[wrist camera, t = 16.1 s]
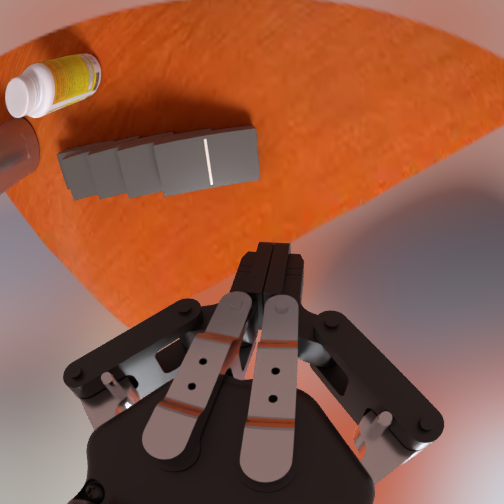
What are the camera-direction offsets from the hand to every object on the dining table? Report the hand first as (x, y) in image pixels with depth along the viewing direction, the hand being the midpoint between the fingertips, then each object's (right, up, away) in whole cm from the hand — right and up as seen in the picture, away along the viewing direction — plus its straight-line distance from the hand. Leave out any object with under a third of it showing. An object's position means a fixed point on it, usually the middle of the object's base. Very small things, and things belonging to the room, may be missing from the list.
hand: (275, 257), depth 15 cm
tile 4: (-13, +10, +15) cm, 22 cm away
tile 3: (-9, +10, +14) cm, 19 cm away
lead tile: (-1, +9, +12) cm, 15 cm away
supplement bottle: (-19, +20, +11) cm, 30 cm away
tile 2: (-5, +10, +13) cm, 17 cm away
